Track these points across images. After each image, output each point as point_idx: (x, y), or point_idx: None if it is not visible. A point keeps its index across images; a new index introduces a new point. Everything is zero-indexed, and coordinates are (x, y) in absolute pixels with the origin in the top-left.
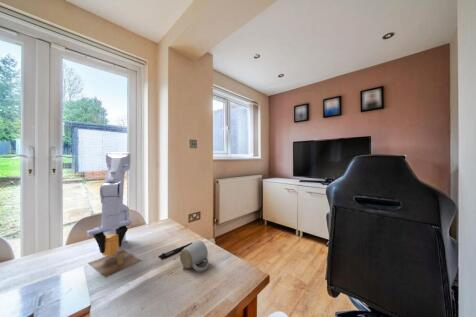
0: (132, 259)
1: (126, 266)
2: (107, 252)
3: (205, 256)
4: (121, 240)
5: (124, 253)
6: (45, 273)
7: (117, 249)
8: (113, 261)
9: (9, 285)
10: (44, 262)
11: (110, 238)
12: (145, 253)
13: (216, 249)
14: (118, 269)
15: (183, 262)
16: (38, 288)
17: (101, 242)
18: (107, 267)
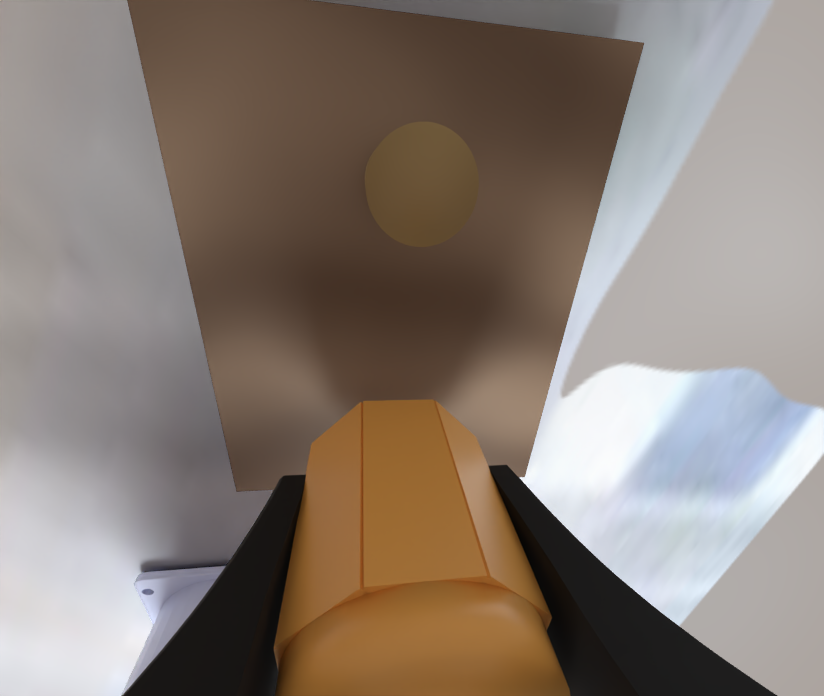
0: (238, 179)
1: (375, 56)
2: (467, 444)
3: None
4: (252, 556)
5: (254, 410)
6: (633, 544)
7: (344, 436)
8: (403, 340)
9: (737, 543)
10: None
11: (492, 672)
12: (36, 275)
13: None
14: (471, 87)
15: None
16: (745, 428)
17: (648, 620)
18: (499, 269)
